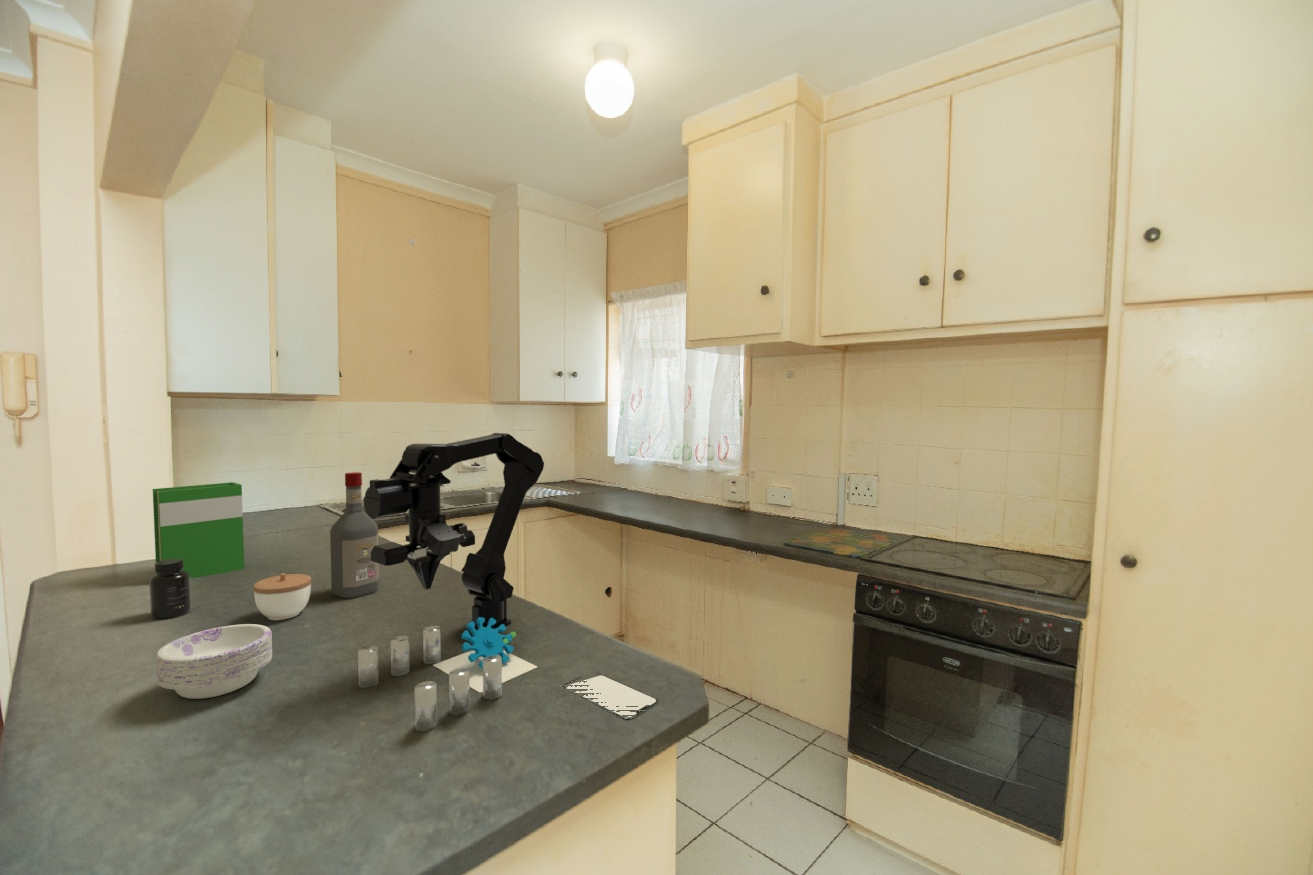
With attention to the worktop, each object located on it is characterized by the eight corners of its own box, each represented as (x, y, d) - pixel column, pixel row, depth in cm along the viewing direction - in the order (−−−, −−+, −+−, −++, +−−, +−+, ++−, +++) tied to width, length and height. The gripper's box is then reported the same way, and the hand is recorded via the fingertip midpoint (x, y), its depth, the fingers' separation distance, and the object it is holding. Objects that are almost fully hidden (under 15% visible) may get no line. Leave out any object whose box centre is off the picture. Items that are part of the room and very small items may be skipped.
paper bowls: (211, 663, 102) (209, 620, 102) (293, 665, 102) (291, 622, 101) (130, 708, 87) (128, 658, 86) (226, 711, 87) (224, 661, 86)
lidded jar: (265, 628, 118) (263, 584, 117) (247, 616, 124) (245, 574, 124) (320, 613, 126) (319, 572, 126) (300, 603, 133) (299, 564, 132)
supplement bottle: (143, 617, 123) (141, 563, 122) (179, 606, 129) (177, 555, 129) (162, 622, 120) (160, 567, 120) (198, 611, 127) (196, 559, 126)
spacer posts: (435, 655, 106) (435, 624, 106) (505, 694, 93) (505, 658, 92) (355, 684, 95) (354, 649, 95) (421, 733, 81) (421, 693, 81)
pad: (489, 644, 112) (489, 643, 112) (537, 667, 102) (537, 666, 102) (432, 665, 102) (432, 664, 102) (480, 693, 93) (480, 692, 93)
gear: (473, 671, 97) (457, 618, 102) (458, 687, 99) (443, 635, 104) (527, 658, 105) (510, 610, 110) (511, 674, 107) (495, 626, 112)
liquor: (383, 590, 142) (381, 472, 141) (347, 600, 135) (344, 476, 133) (363, 583, 147) (361, 470, 145) (327, 593, 140) (324, 473, 138)
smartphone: (559, 689, 95) (628, 723, 85) (559, 686, 95) (628, 720, 85) (593, 672, 101) (661, 703, 91) (593, 669, 101) (661, 699, 91)
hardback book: (162, 583, 145) (158, 492, 144) (156, 578, 150) (152, 489, 148) (244, 568, 159) (241, 484, 158) (236, 563, 164) (233, 482, 162)
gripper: (400, 524, 95) (403, 613, 96) (491, 506, 110) (493, 584, 111) (367, 515, 102) (370, 599, 103) (457, 500, 117) (459, 573, 118)
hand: (427, 588), depth 109 cm, fingers closed
